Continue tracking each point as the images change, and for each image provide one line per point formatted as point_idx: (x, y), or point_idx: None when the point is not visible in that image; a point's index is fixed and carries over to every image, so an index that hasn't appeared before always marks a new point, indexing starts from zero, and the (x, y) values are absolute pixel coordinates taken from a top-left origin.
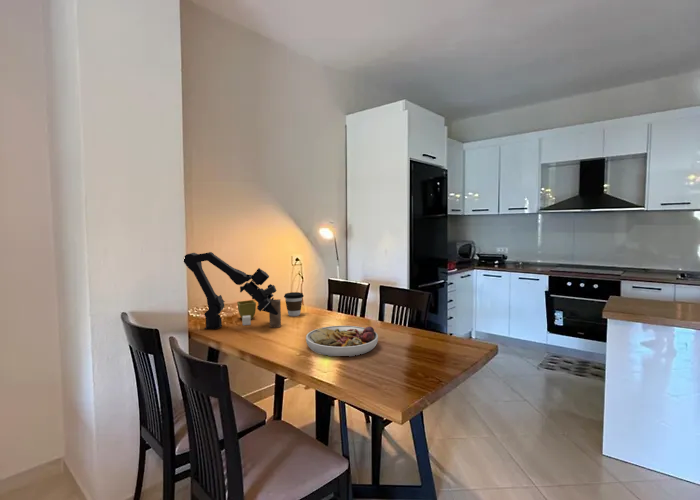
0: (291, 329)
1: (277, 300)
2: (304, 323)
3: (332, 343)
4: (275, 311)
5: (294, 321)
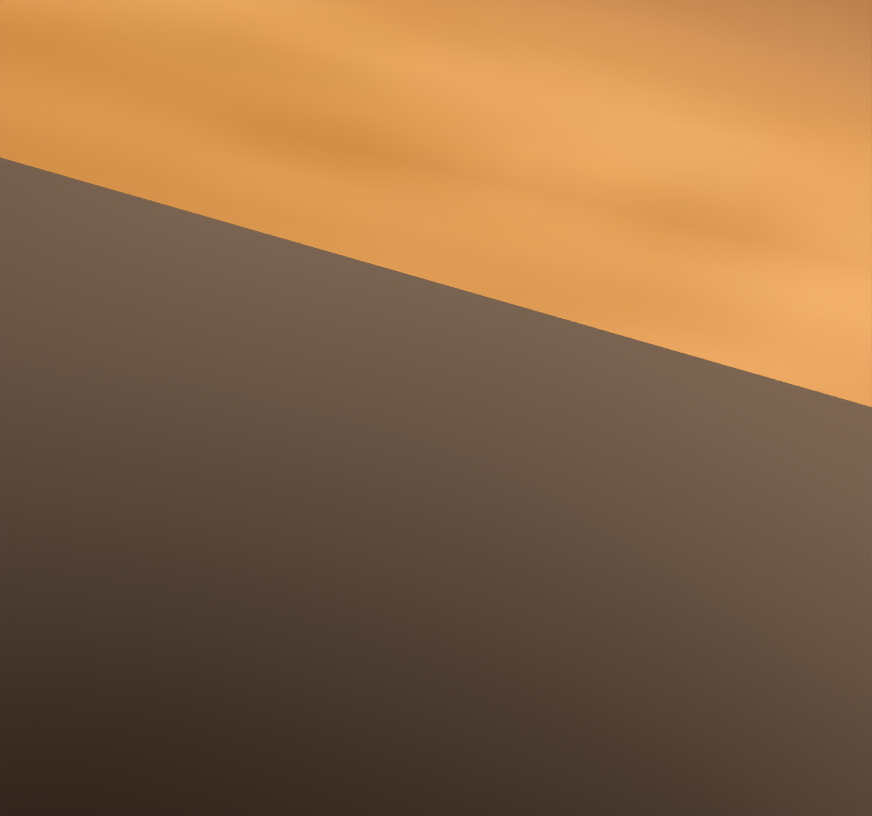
0: (799, 373)
1: (314, 531)
2: (426, 32)
3: None
4: None
5: (168, 170)
